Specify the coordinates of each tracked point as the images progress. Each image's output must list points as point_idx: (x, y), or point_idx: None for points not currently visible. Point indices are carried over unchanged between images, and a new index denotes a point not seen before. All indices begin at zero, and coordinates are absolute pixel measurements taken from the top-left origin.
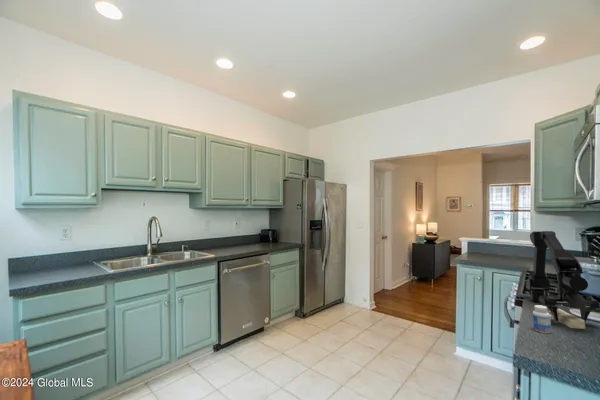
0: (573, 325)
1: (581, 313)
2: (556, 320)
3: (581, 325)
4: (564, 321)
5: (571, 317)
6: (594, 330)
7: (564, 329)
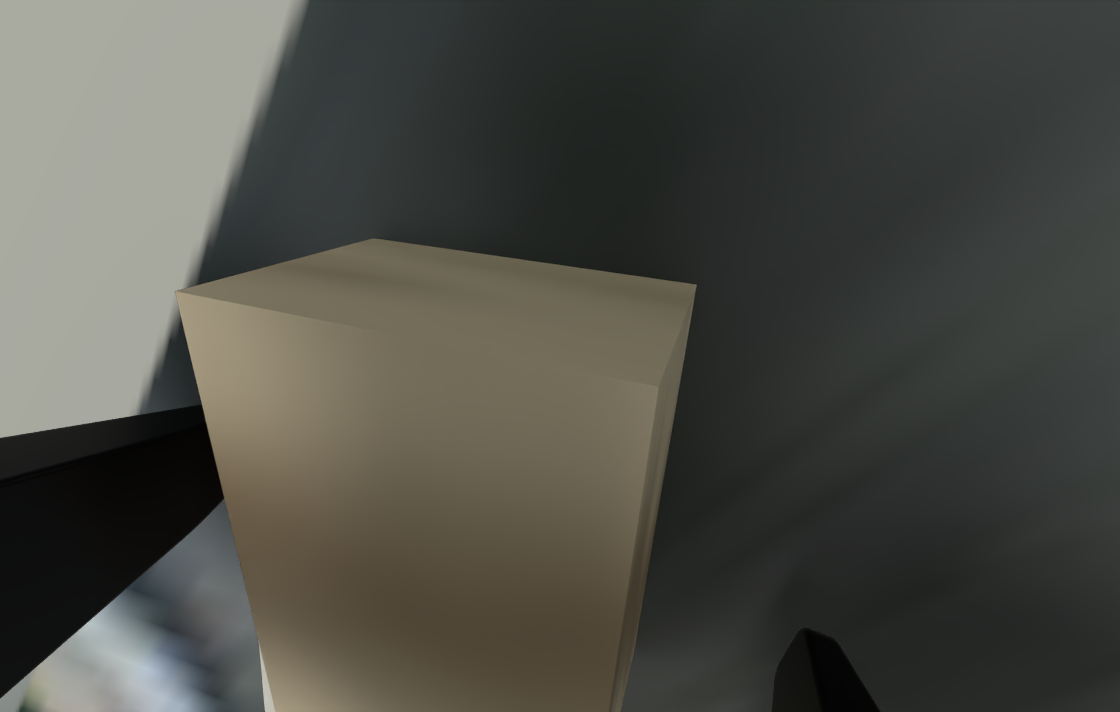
0: (616, 297)
1: (20, 633)
2: (845, 666)
3: (400, 264)
4: (644, 564)
5: (404, 593)
6: (258, 107)
7: (1105, 166)
